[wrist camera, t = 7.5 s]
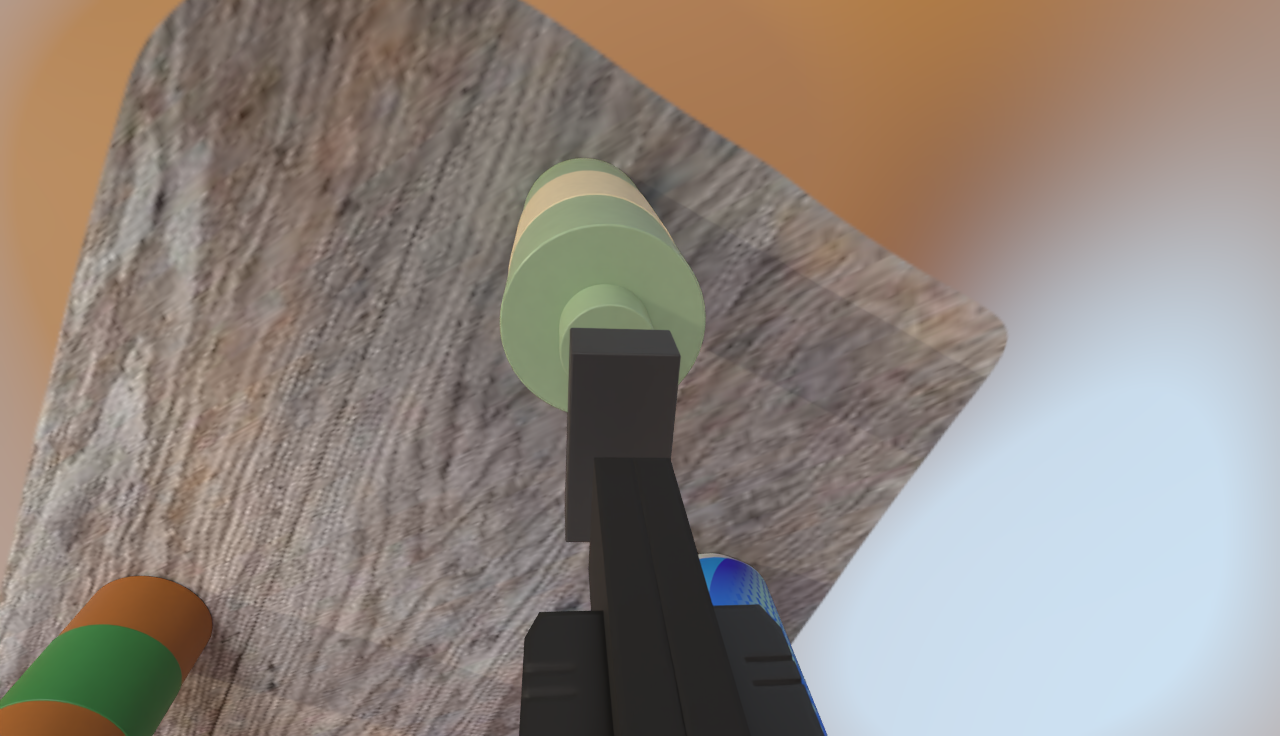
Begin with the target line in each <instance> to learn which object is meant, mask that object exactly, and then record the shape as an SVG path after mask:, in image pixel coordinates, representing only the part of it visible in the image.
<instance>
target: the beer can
mask: <svg viewBox="0 0 1280 736" xmlns="http://www.w3.org/2000/svg"><path fill="white" fill-rule="evenodd" d="M698 556H699V560H700V563H701V566H702V570H703V573H704V577H705V580H706V584H707V587H708V590H709V594H710V597H711V601H712V604H713V606H714V605H752V604H759V605H760V606H761V607H762V608H763V609H764V610H765V611H766V612H767V613H768V614H769V615H770V616H771V617H772V618H773V620H774V621H775V622H776V623H777V624H778V625H779V626H780V627H781V629H782V631H783V634H784V636H785V639H786V641H787V643H788V646H789V648H790V651H791V653H792V660H793V661H795V663H796V666H797V668H798V671H799V673H800V676H801V678H802V679H801V681H802V684H804V686H805V688H806V691H807V693H808V696H809V698H810V701H811V703H812V706H813V708H814V711H815V713H816V716H817V718H818V721H819V723H820V726H821V728H822V731H823V733H824V736H827V733H826V731H825V728H824V726H823V723H822V721H821V718H820V716H819V713H818V711H817V708H816V706H815V704H814V701H813V698H812V696H811V694H810V691H809V689H808V686H807V684H806V681H805V679H804V676H803V674H802V671H801V669H800V666H799V664H798V661H797V659H796V656H795V654H794V652H793V649H792V647H791V644H790V642H789V639H788V637H787V634H786V632H785V629H784V627H783V624H782V622H781V619H780V617H779V614H778V612H777V610H776V607H775V605H774V602H773V600H772V597H771V595H770V592H769V590H768V587H767V585H766V583H765V581H764V579H763V578H762V576H761V575H760V574H759V573H758V572H757V571H756V570H755V569H754V568H753V567H751V566H749V565H748V564H746V563H744V562H742V561H739V560H736V559H734V558H732V557H729V556H726V555H722V554H714V553H706V554H698Z"/></svg>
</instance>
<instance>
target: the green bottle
mask: <svg viewBox="0 0 1280 736" xmlns="http://www.w3.org/2000/svg"><path fill="white" fill-rule="evenodd" d="M705 320H706V314H705V304H704V299H703V295H702V291H701V289H700V286H699V283H698V281H697V279H696V277H695V275H694V273H693V271H692V270H691V268H690V266H689V265H688V263H687V262H686V260H685V259H684V257H683V256H682V254H681V253H680V252H679V250H678V249H677V247H676V246H675V244H674V241H673V239H672V238H671V236H670V234H669V232H668V231H667V229H666V228H665V226H664V225H663V223H662V222H661V220H660V219H659V218H658V216H657V215H656V213H655V212H654V210H653V209H652V207H651V206H650V204H649V203H648V202H647V200H646V199H645V198H644V196H643V195H642V194H641V193H640V192H639V190H638V189H637V187H636V186H635V185H634V183H633V182H632V181H631V179H630V178H629V177H628V176H627V175H626V174H625V173H623V172H622V171H621V170H619V169H618V168H616V167H615V166H613V165H611V164H609V163H606V162H604V161H601V160H597V159H590V158H577V159H570V160H567V161H564V162H561V163H559V164H557V165H555V166H553V167H551V168H550V169H548V170H547V171H546V172H544V173H543V174H542V175H541V176H540V177H539V178H538V179H537V180H536V182H535V183H534V185H533V186H532V188H531V189H530V191H529V193H528V195H527V198H526V201H525V205H524V209H523V213H522V215H521V218H520V221H519V224H518V229H517V233H516V237H515V241H514V245H513V249H512V254H511V258H510V263H509V272H508V278H507V282H506V287H505V291H504V295H503V300H502V305H501V310H500V333H501V339H502V344H503V348H504V351H505V354H506V356H507V359H508V361H509V363H510V365H511V367H512V369H513V370H514V372H515V373H516V375H517V376H518V377H519V379H520V380H521V382H522V383H523V384H524V385H525V386H526V387H527V388H528V389H529V390H530V391H531V392H532V393H534V394H535V395H536V396H537V397H539V398H540V399H542V400H543V401H545V402H546V403H548V404H550V405H551V406H554V407H556V408H558V409H560V410H562V411H565V412H568V379H569V344H570V329H571V328H606V329H645V330H669V331H670V332H671V334H672V336H673V339H674V341H675V343H676V346H677V348H678V350H679V352H680V355H681V361H680V371H679V381H678V385H679V384H680V382H681V381H682V380H683V379H684V378H685V376H686V375H687V374H688V372H689V371H690V369H691V368H692V366H693V364H694V363H695V360H696V358H697V356H698V354H699V352H700V348H701V345H702V342H703V338H704V332H705Z"/></svg>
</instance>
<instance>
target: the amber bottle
mask: <svg viewBox="0 0 1280 736" xmlns="http://www.w3.org/2000/svg"><path fill="white" fill-rule="evenodd" d="M211 633H212V618H211V615H210V613H209V611H208V609H207V607H206V606H205V604H204V603H203V602H202V601H201V599H200V598H199V597H198V596H196V595H195V594H194V593H193V592H191V591H190V590H188V589H187V588H185V587H183V586H181V585H180V584H177V583H175V582H172V581H169V580H166V579H162V578H158V577H150V576H132V577H126V578H121V579H118V580H115V581H113V582H110V583H108V584H107V585H105V586H103V587H102V588H101V589H100V590H98V591H97V592H96V594H95V595H94V596H93V597H92V598H91V599H90V600H89V602H88V603H87V604H86V605H85V606H84V607H83V608H82V610H81V611H80V612H79V613H78V614H77V615H76V616H75V618H74V619H73V620H72V621H71V622H70V623H69V624H68V626H67V627H66V628H65V629H64V630H63V631H62V632H61V634H60V635H59V636H58V637H57V638H55V639H54V640H53V641H52V642H51V643H50V644H49V645H48V647H47V648H46V649H45V650H44V651H43V652H42V653H41V655H40V656H39V657H38V658H37V659H36V660H35V661H34V663H33V664H32V665H31V666H30V667H29V668H28V669H27V670H26V672H25V673H24V674H23V675H22V676H21V677H20V678H19V680H18V681H17V682H16V683H15V684H14V685H13V686H12V688H11V689H10V690H9V691H8V692H7V693H6V694H5V696H4V697H3V698H2V699H1V700H0V736H153V734H154V732H155V731H156V729H157V727H158V726H159V724H160V722H161V721H162V719H163V717H164V716H165V714H166V712H167V711H168V709H169V707H170V706H171V704H172V702H173V701H174V699H175V698H176V696H177V694H178V692H179V690H180V688H181V686H182V684H183V682H184V681H185V679H186V677H187V676H188V674H189V672H190V671H191V669H192V667H193V666H194V664H195V662H196V661H197V659H198V658H199V656H200V654H201V653H202V651H203V649H204V648H205V646H206V644H207V643H208V641H209V639H210V637H211Z"/></svg>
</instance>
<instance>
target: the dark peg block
mask: <svg viewBox="0 0 1280 736" xmlns="http://www.w3.org/2000/svg"><path fill="white" fill-rule="evenodd" d="M680 361H681V355H680V352H679V350H678V348H677V346H676V343H675V341H674V339H673V336H672V334H671V332H670V331H669V330H645V329H606V328H571V329H570V344H569V379H568V413H567V447H566V482H565V538H566V542H590V530H591V510H592V490H593V469H594V457H617V458H670V460H671V452H672V442H673V431H674V421H675V411H676V401H677V391H678V381H679V371H680Z"/></svg>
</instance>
